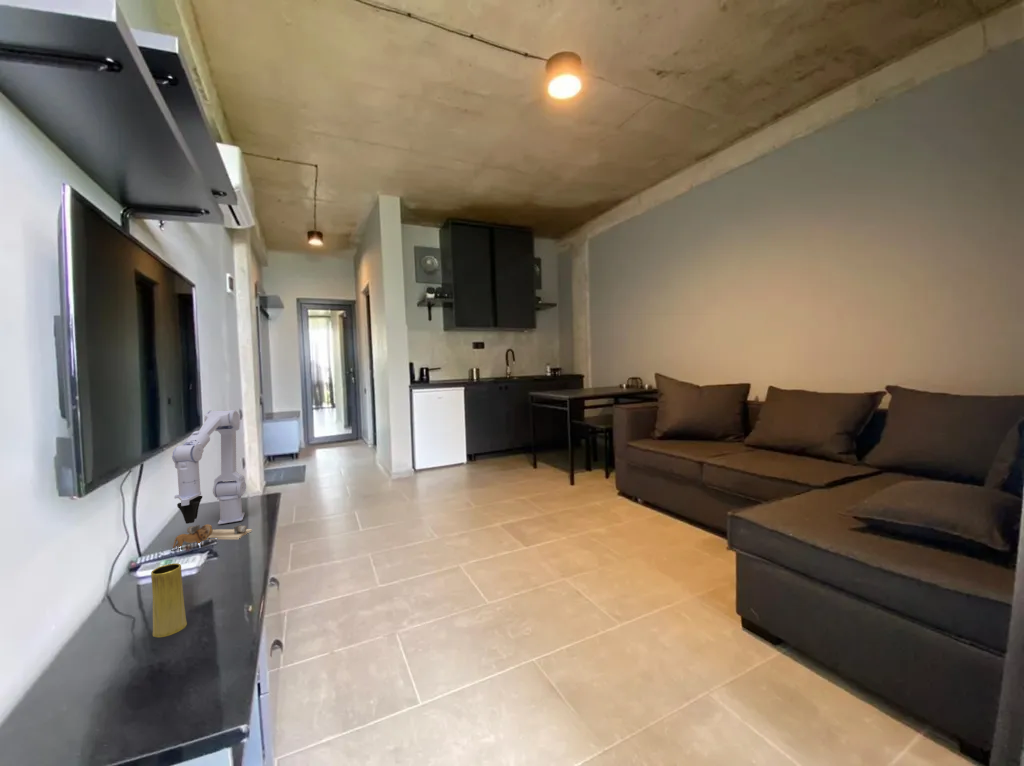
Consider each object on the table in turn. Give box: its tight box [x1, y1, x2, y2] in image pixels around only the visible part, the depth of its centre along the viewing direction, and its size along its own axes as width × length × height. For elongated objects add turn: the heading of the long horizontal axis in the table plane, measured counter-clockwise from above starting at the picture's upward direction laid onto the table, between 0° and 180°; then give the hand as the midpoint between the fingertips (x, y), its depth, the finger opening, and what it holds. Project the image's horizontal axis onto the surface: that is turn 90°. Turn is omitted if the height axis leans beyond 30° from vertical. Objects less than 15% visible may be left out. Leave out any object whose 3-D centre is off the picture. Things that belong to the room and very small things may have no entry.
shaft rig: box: [186, 523, 253, 540], centre depth 150 cm, size 7×21×4 cm, turn 88°
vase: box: [150, 562, 188, 638], centre depth 95 cm, size 6×6×14 cm
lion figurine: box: [172, 524, 214, 549], centre depth 140 cm, size 12×4×7 cm, turn 121°
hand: (191, 521), depth 140 cm, fingers open, 3 cm apart
